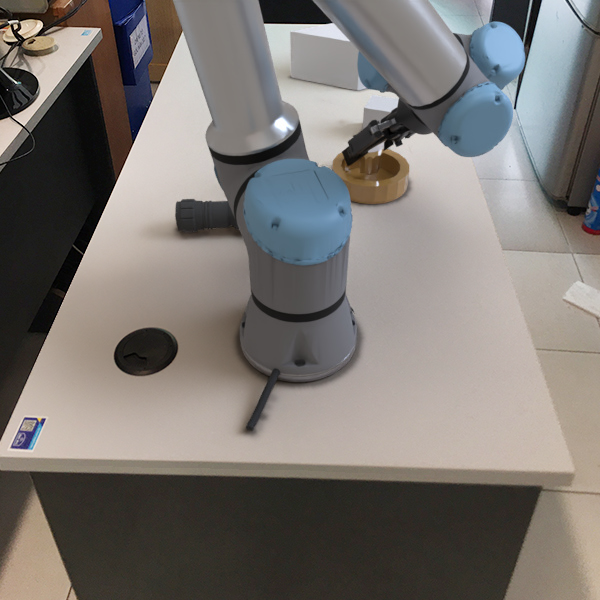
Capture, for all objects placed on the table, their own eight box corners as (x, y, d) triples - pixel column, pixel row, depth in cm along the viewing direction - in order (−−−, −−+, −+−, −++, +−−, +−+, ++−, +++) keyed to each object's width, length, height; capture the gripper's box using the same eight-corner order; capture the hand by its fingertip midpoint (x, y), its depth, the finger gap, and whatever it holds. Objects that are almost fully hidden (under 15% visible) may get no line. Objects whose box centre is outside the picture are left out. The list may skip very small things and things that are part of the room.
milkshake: (384, 188, 108) (391, 134, 101) (353, 184, 109) (358, 130, 102) (386, 175, 111) (393, 122, 105) (356, 171, 112) (361, 118, 106)
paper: (290, 64, 148) (289, 19, 142) (412, 63, 149) (418, 18, 142) (291, 91, 138) (290, 43, 131) (423, 89, 138) (429, 42, 131)
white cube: (391, 141, 121) (394, 112, 117) (361, 136, 123) (363, 107, 119) (399, 127, 125) (402, 99, 121) (370, 123, 127) (372, 94, 123)
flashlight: (176, 240, 98) (171, 211, 95) (179, 220, 102) (174, 191, 99) (274, 236, 99) (273, 208, 95) (273, 216, 103) (272, 188, 99)
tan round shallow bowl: (375, 213, 104) (377, 195, 101) (316, 183, 110) (316, 166, 108) (422, 182, 111) (424, 164, 108) (363, 155, 117) (365, 138, 115)
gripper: (393, 141, 86) (324, 188, 107) (489, 110, 92) (406, 160, 114) (373, 89, 85) (308, 147, 107) (470, 62, 92) (390, 121, 114)
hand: (358, 154), depth 110 cm, fingers closed on milkshake, 4 cm apart
